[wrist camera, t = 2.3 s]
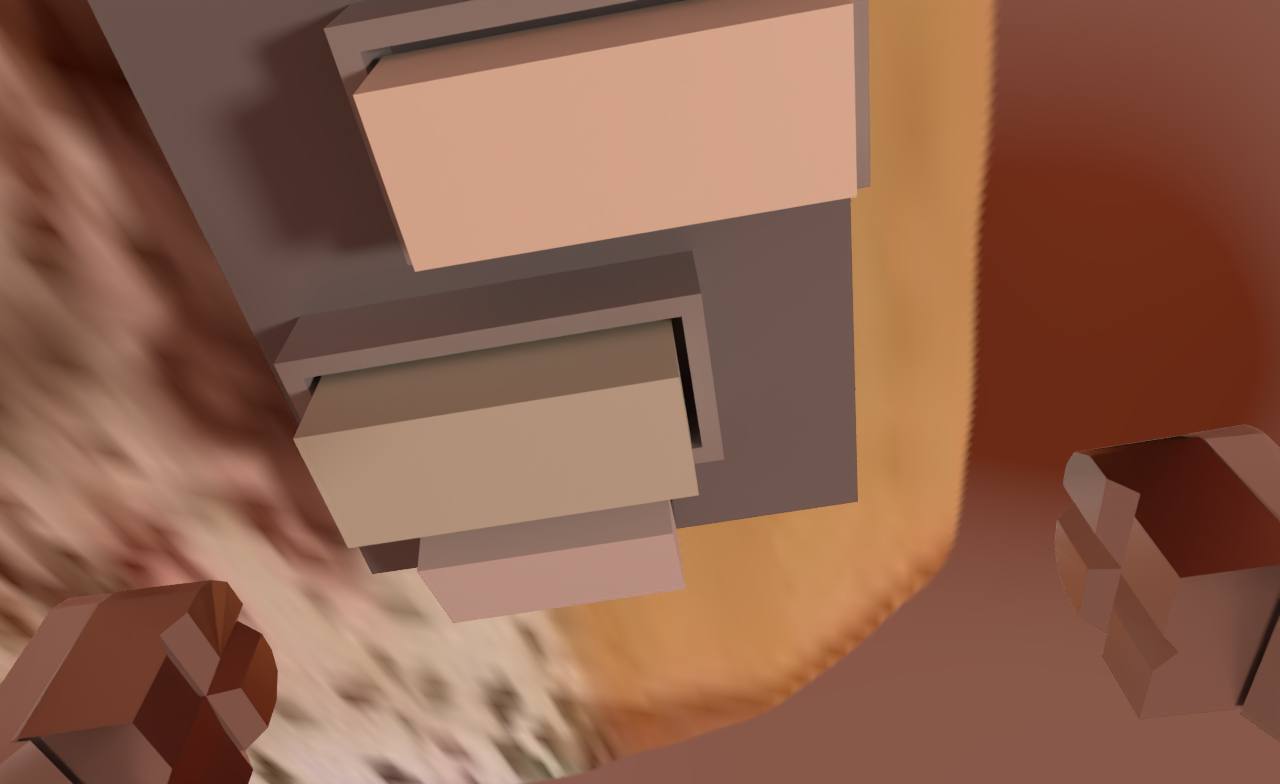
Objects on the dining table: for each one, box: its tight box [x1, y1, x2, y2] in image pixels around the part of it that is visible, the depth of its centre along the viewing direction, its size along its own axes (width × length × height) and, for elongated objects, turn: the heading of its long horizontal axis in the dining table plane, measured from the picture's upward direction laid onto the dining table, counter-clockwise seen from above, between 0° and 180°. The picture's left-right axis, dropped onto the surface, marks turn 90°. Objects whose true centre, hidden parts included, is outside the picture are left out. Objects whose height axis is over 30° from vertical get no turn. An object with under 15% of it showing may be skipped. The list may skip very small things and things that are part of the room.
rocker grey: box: [417, 500, 685, 623], centre depth 28 cm, size 4×8×2 cm, turn 100°
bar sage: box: [293, 318, 699, 548], centre depth 24 cm, size 4×10×3 cm, turn 99°
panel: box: [87, 0, 870, 574], centre depth 24 cm, size 28×18×7 cm, turn 9°
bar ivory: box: [353, 0, 857, 272], centre depth 19 cm, size 4×10×3 cm, turn 99°
